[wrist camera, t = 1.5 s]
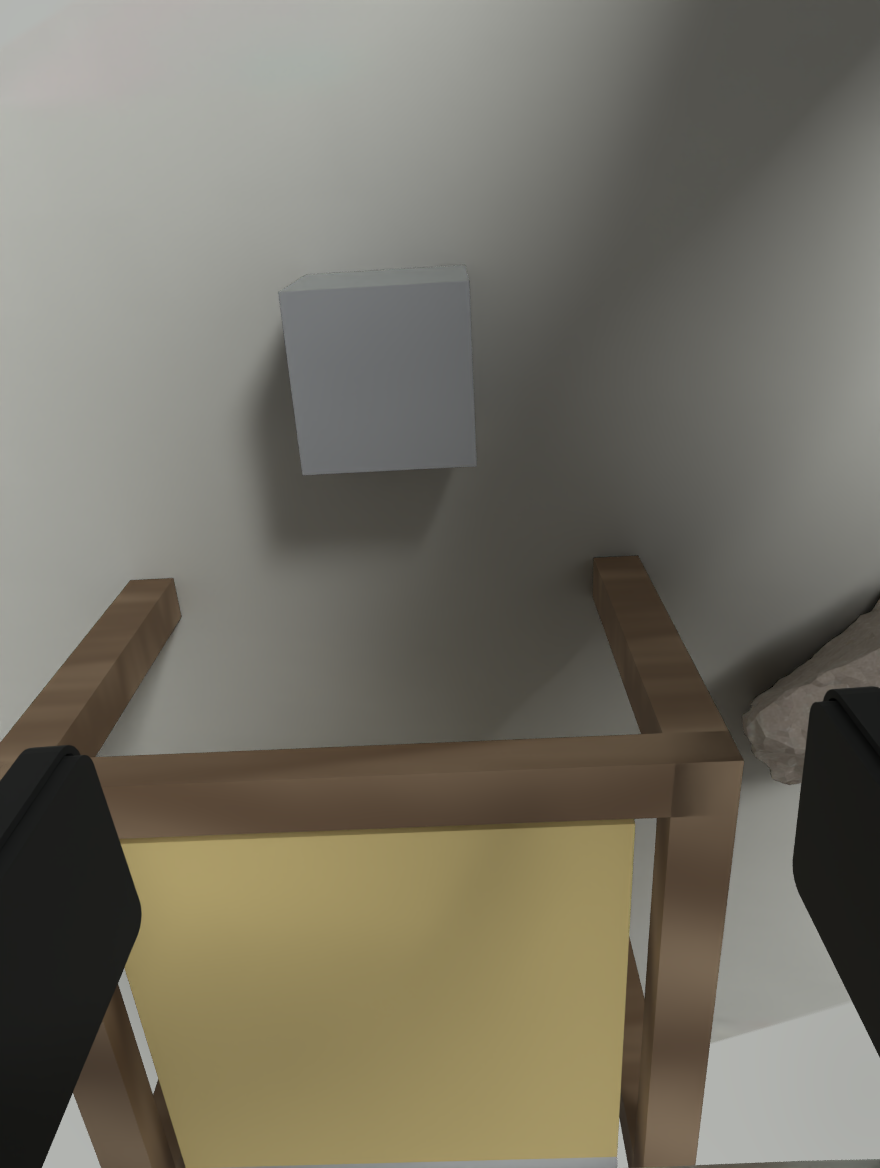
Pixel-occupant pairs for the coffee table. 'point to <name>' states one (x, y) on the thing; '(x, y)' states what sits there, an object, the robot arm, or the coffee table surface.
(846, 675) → the concrete fragment
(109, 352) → the coffee table surface
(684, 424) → the coffee table surface
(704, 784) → the frame
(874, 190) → the coffee table surface
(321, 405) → the smooth grey cube
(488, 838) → the trapdoor
